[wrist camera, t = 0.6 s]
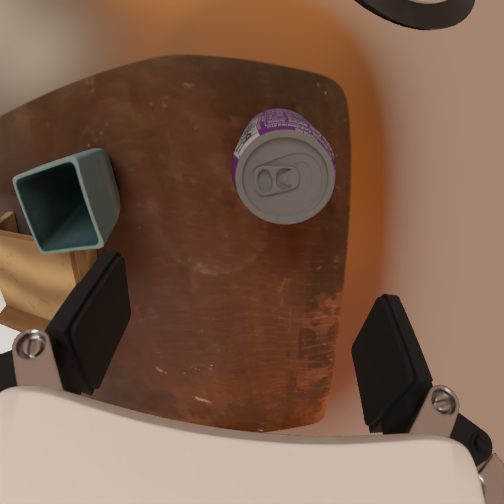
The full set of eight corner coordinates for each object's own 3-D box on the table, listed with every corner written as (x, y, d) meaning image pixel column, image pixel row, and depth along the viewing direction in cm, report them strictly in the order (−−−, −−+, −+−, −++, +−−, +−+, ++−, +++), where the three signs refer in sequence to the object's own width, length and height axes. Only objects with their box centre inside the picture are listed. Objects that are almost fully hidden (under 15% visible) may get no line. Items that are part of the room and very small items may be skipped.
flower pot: (139, 208, 33) (104, 249, 25) (79, 218, 34) (40, 256, 26) (120, 133, 28) (75, 155, 21) (59, 152, 29) (10, 178, 22)
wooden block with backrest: (8, 211, 34) (-32, 242, 26) (93, 223, 34) (54, 264, 26) (28, 287, 41) (-1, 323, 33) (106, 307, 41) (81, 353, 34)
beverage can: (247, 180, 31) (236, 235, 21) (237, 111, 27) (219, 129, 17) (316, 173, 30) (342, 226, 20) (311, 105, 26) (340, 119, 16)
